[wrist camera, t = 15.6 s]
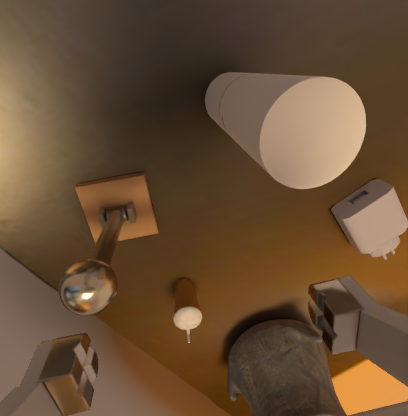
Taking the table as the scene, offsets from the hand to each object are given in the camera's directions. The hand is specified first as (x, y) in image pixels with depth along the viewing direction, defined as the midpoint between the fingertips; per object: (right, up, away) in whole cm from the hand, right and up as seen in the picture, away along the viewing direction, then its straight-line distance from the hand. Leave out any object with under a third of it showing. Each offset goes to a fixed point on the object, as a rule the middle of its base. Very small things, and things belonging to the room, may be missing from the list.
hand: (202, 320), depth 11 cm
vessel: (+15, -25, +53) cm, 61 cm away
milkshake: (-4, -10, +44) cm, 45 cm away
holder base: (-13, +4, +35) cm, 38 cm away
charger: (+30, +2, +43) cm, 52 cm away
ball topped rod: (-12, +2, +23) cm, 26 cm away
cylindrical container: (+4, +19, +31) cm, 37 cm away
